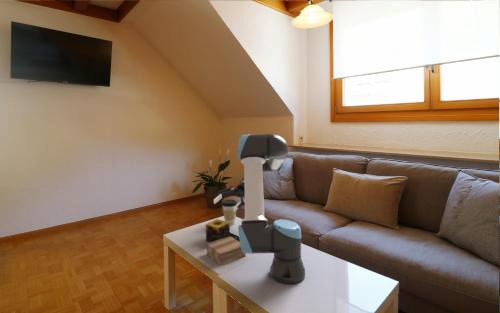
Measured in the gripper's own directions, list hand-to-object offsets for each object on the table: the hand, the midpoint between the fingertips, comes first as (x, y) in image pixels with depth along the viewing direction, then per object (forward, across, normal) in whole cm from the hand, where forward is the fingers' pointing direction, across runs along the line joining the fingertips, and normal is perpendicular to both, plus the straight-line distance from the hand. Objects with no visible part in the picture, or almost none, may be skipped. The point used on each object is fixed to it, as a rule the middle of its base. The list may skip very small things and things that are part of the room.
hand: (223, 205), depth 149 cm
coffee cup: (-15, +8, -28) cm, 33 cm away
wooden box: (+17, -14, -14) cm, 26 cm away
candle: (+7, 0, -20) cm, 21 cm away
